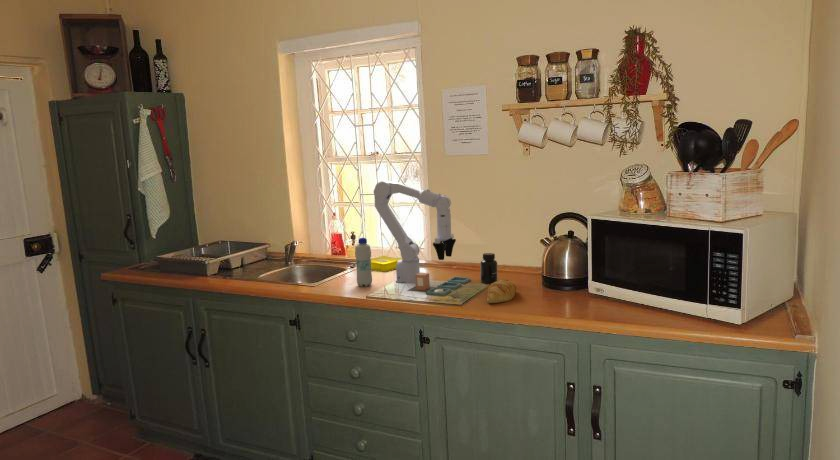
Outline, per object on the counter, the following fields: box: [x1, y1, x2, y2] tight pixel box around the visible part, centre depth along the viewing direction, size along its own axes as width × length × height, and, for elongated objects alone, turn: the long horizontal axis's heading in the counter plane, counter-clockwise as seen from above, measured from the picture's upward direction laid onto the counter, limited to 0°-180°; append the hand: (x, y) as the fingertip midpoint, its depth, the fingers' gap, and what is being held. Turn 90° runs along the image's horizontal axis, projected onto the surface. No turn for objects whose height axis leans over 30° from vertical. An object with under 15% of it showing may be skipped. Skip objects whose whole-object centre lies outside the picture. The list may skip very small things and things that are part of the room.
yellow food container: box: [371, 255, 403, 273], centre depth 273 cm, size 15×15×5 cm
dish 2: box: [436, 281, 462, 291], centre depth 227 cm, size 7×7×1 cm
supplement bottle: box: [480, 252, 498, 285], centre depth 233 cm, size 7×7×12 cm
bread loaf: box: [486, 279, 517, 304], centre depth 209 cm, size 21×10×8 cm, turn 149°
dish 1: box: [425, 288, 452, 297], centre depth 219 cm, size 7×7×1 cm
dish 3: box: [446, 276, 471, 285], centre depth 236 cm, size 7×7×1 cm
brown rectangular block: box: [415, 271, 431, 290], centre depth 226 cm, size 4×4×6 cm
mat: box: [407, 285, 437, 293], centre depth 226 cm, size 9×9×1 cm
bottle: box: [354, 237, 373, 288], centre depth 236 cm, size 7×7×20 cm
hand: (445, 258), depth 238 cm, fingers open, 7 cm apart
